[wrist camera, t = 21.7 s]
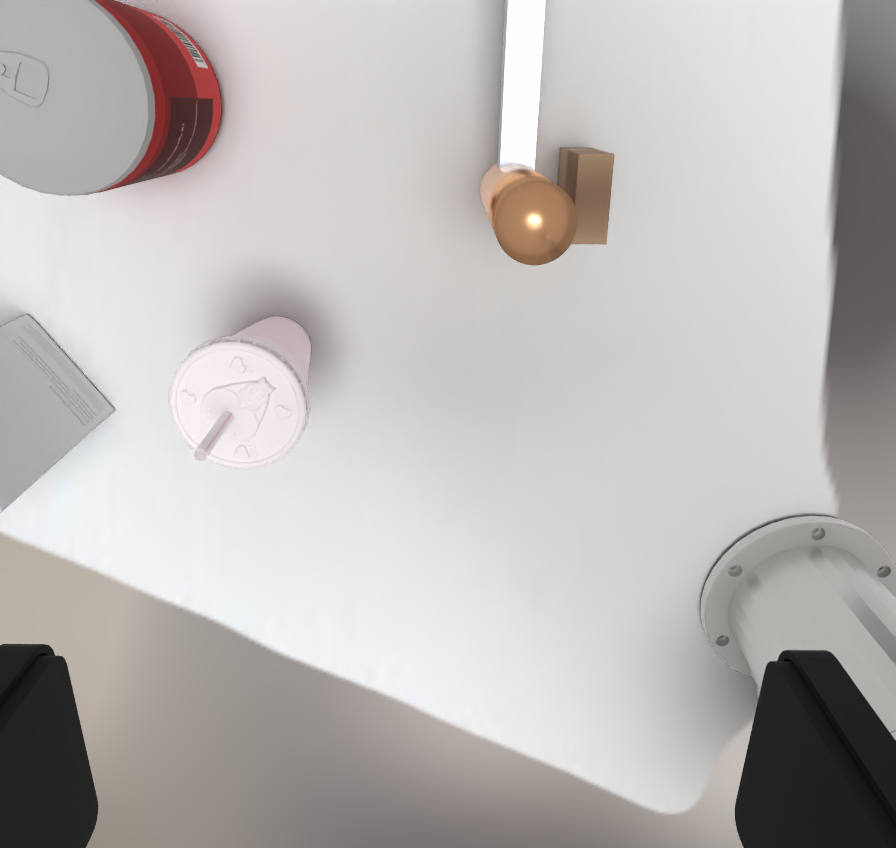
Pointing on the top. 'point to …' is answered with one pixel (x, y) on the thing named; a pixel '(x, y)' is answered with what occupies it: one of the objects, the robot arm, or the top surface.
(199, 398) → the smoothie
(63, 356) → the supplement box
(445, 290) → the top surface
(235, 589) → the top surface
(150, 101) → the canned food
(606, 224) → the brown wooden block
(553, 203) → the double handled crank lever
